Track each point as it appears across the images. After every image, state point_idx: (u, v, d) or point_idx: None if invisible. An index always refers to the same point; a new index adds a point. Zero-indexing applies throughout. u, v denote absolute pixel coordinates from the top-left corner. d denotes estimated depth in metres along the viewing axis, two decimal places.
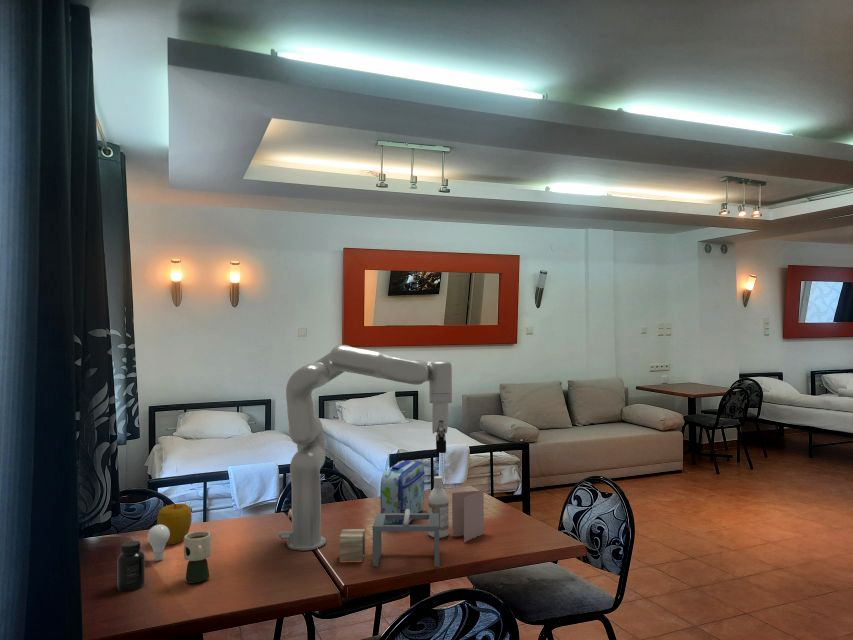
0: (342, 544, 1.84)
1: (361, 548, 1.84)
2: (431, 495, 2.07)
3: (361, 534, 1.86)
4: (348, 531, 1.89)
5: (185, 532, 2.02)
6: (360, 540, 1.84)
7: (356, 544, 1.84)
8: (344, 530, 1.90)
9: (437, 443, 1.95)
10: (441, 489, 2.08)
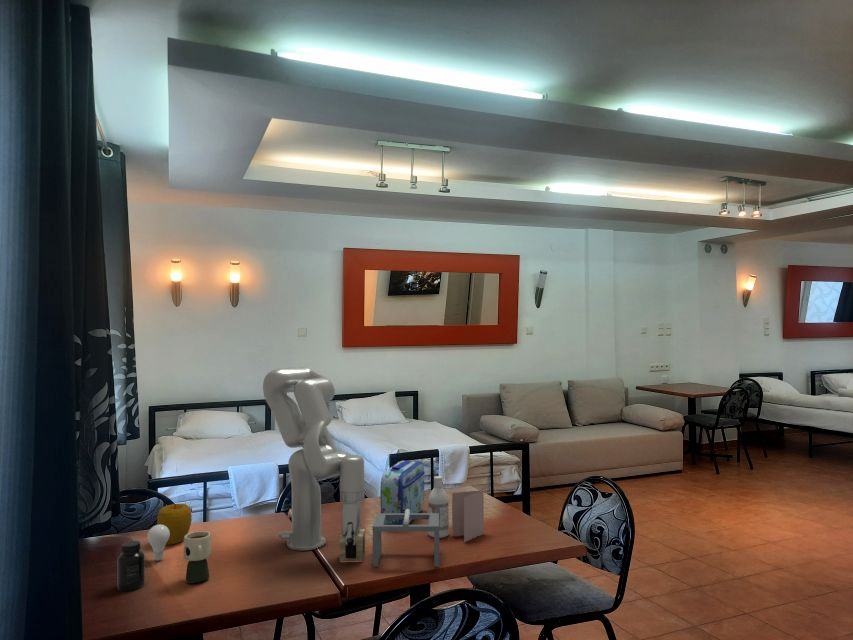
0: (342, 544, 1.84)
1: (361, 548, 1.84)
2: (431, 495, 2.07)
3: (361, 534, 1.86)
4: None
5: (185, 532, 2.02)
6: (360, 540, 1.84)
7: (356, 544, 1.84)
8: None
9: (346, 548, 1.84)
10: (441, 489, 2.08)
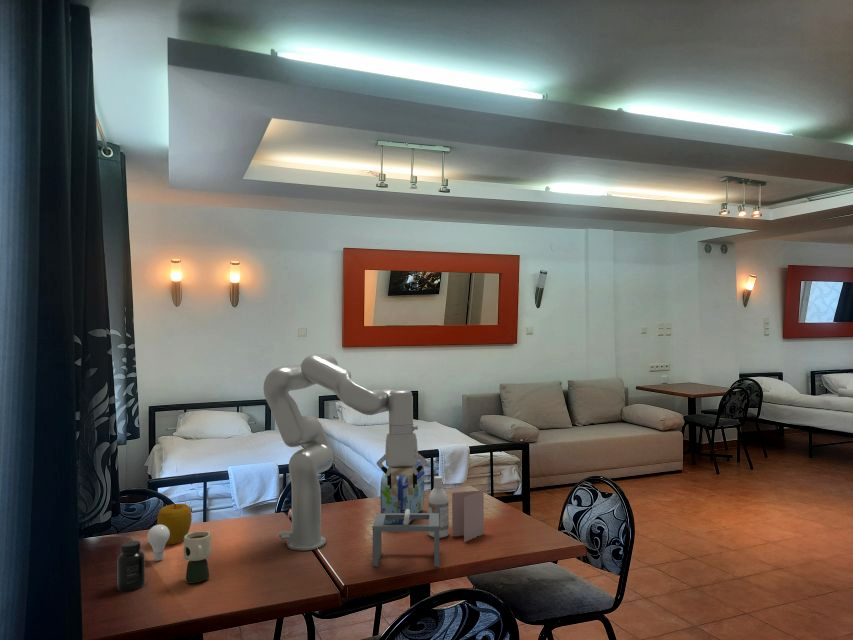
0: None
1: (391, 481, 1.84)
2: (431, 495, 2.07)
3: (396, 468, 1.84)
4: None
5: (185, 532, 2.02)
6: (391, 473, 1.85)
7: None
8: None
9: None
10: (441, 489, 2.08)
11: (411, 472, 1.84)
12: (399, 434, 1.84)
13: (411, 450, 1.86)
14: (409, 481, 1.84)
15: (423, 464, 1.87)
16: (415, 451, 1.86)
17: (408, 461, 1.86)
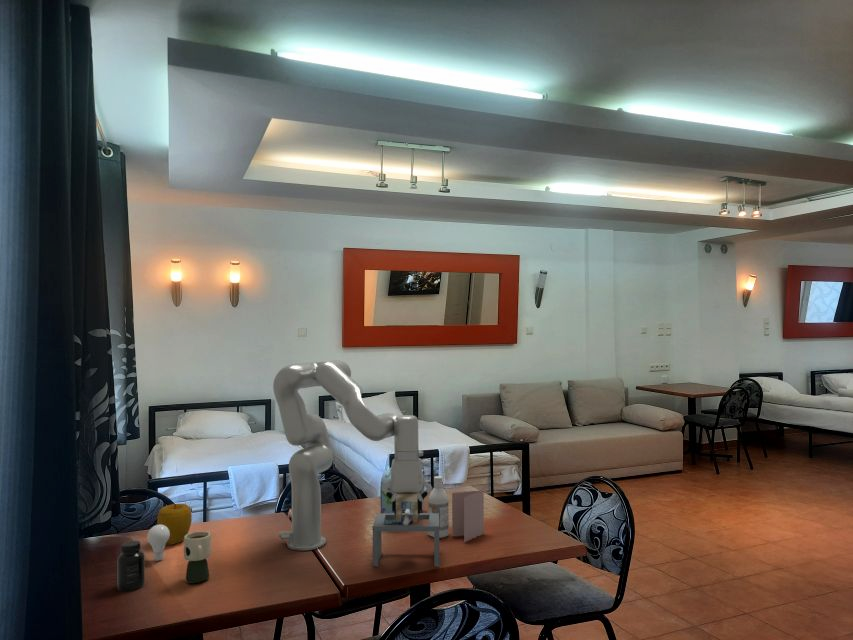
0: None
1: (396, 507, 1.84)
2: (431, 495, 2.07)
3: (401, 495, 1.84)
4: None
5: (185, 532, 2.02)
6: None
7: None
8: None
9: None
10: (441, 489, 2.08)
11: (416, 499, 1.84)
12: (404, 460, 1.84)
13: (416, 476, 1.85)
14: (414, 507, 1.84)
15: (428, 490, 1.87)
16: (420, 477, 1.85)
17: (413, 487, 1.85)
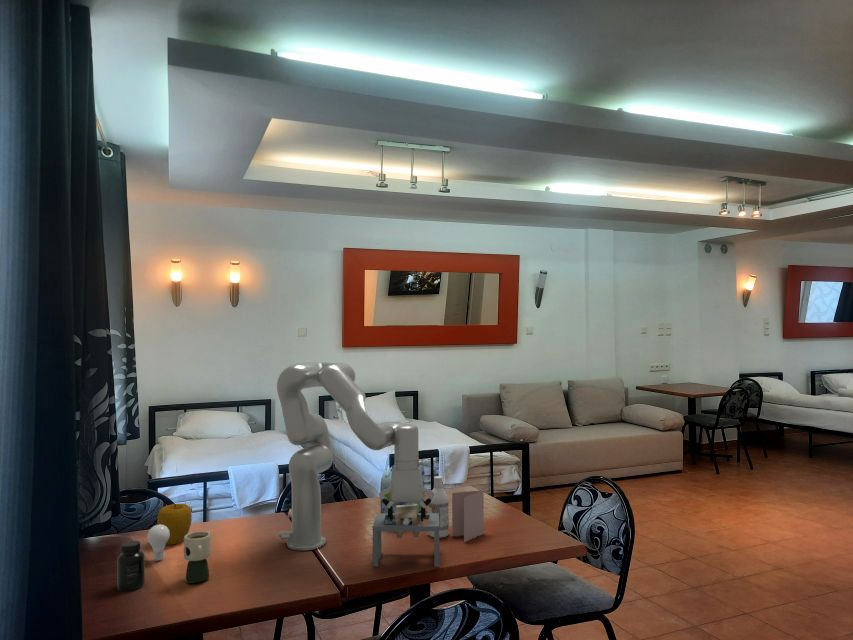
0: None
1: (396, 524, 1.84)
2: None
3: (400, 511, 1.84)
4: (410, 506, 1.89)
5: (185, 532, 2.02)
6: (395, 515, 1.85)
7: None
8: (412, 505, 1.90)
9: None
10: (441, 489, 2.08)
11: (415, 514, 1.84)
12: (404, 470, 1.84)
13: (416, 486, 1.85)
14: (413, 523, 1.84)
15: (431, 497, 1.87)
16: (420, 486, 1.85)
17: (413, 497, 1.85)
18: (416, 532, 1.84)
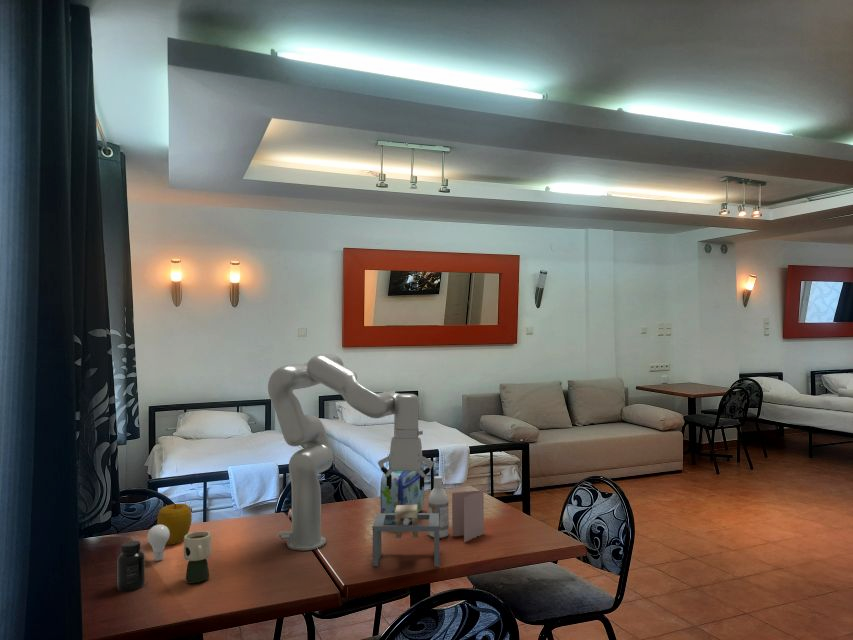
0: None
1: (395, 523, 1.84)
2: (431, 495, 2.07)
3: (400, 511, 1.84)
4: (410, 506, 1.89)
5: (185, 532, 2.02)
6: (395, 515, 1.85)
7: None
8: (413, 505, 1.90)
9: None
10: (441, 489, 2.08)
11: (415, 514, 1.84)
12: (404, 438, 1.84)
13: (415, 455, 1.86)
14: (413, 523, 1.84)
15: (430, 466, 1.87)
16: (419, 455, 1.86)
17: (412, 465, 1.86)
18: (416, 532, 1.84)
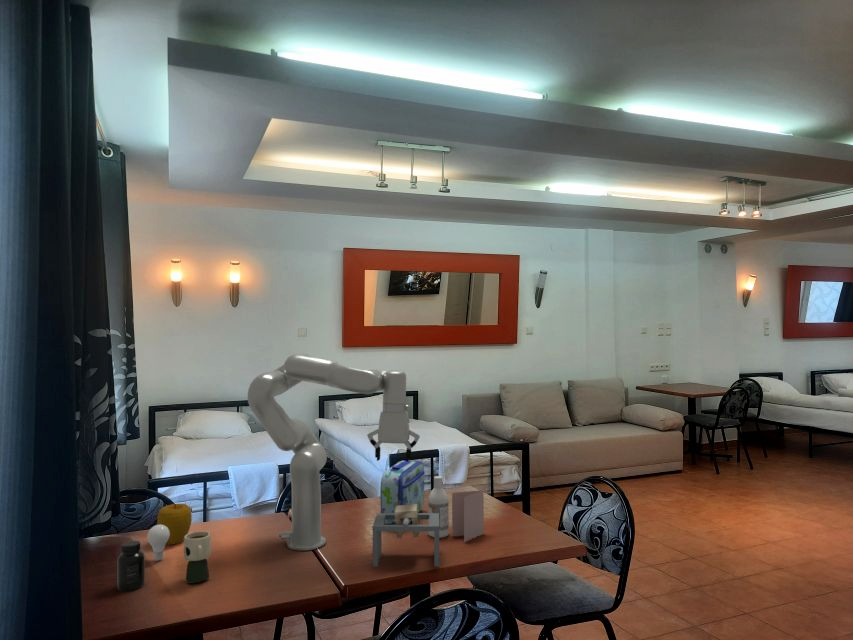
0: None
1: (396, 524, 1.84)
2: (431, 495, 2.07)
3: (400, 511, 1.84)
4: (410, 506, 1.89)
5: (185, 532, 2.02)
6: (395, 515, 1.85)
7: None
8: (412, 505, 1.90)
9: None
10: (441, 489, 2.08)
11: (415, 514, 1.84)
12: (391, 412, 1.95)
13: (402, 428, 1.96)
14: (413, 523, 1.84)
15: (416, 439, 1.97)
16: (406, 429, 1.96)
17: (399, 438, 1.96)
18: (416, 532, 1.84)
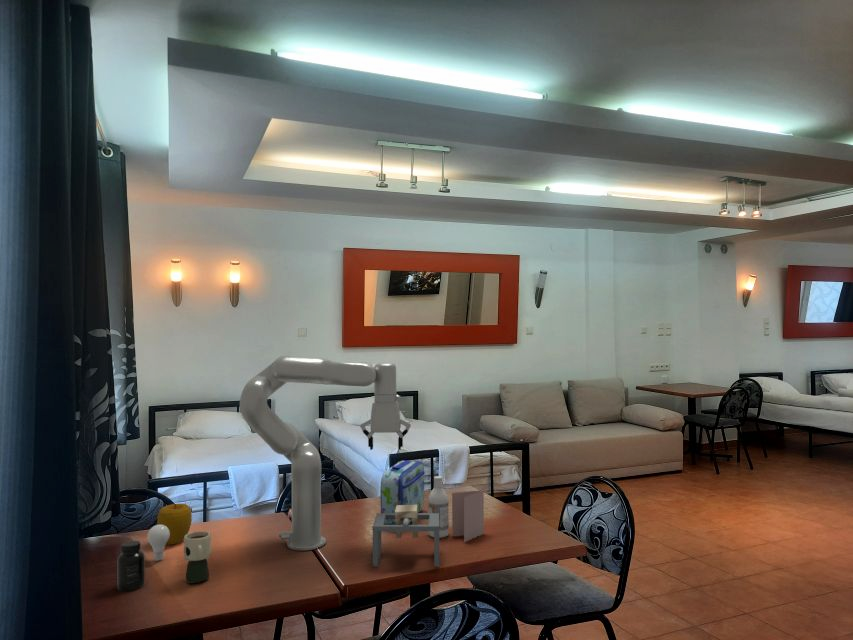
0: None
1: (395, 523, 1.84)
2: (431, 495, 2.07)
3: (400, 511, 1.84)
4: (410, 506, 1.89)
5: (185, 532, 2.02)
6: (395, 515, 1.85)
7: None
8: (413, 505, 1.90)
9: None
10: (441, 489, 2.08)
11: (415, 514, 1.84)
12: (383, 402, 2.03)
13: (394, 417, 2.04)
14: (413, 523, 1.84)
15: (407, 428, 2.06)
16: (397, 418, 2.04)
17: (391, 427, 2.04)
18: (415, 532, 1.84)
